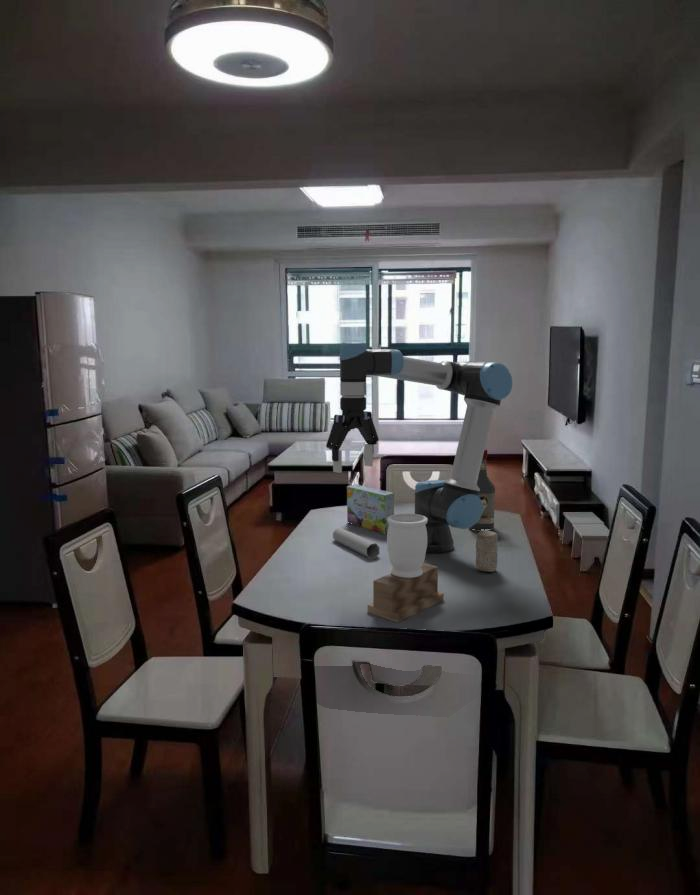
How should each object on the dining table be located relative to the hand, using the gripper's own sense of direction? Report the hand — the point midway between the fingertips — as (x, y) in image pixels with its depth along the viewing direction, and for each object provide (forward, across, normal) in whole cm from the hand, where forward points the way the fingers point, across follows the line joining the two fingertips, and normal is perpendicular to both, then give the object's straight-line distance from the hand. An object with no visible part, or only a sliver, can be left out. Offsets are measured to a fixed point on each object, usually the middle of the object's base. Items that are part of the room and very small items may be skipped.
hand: (353, 469), depth 195 cm
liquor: (+33, -72, 0) cm, 79 cm away
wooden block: (+33, +8, +26) cm, 43 cm away
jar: (+24, +8, +26) cm, 36 cm away
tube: (+33, -21, -19) cm, 44 cm away
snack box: (+33, -45, -32) cm, 64 cm away
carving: (+33, -31, +27) cm, 53 cm away
